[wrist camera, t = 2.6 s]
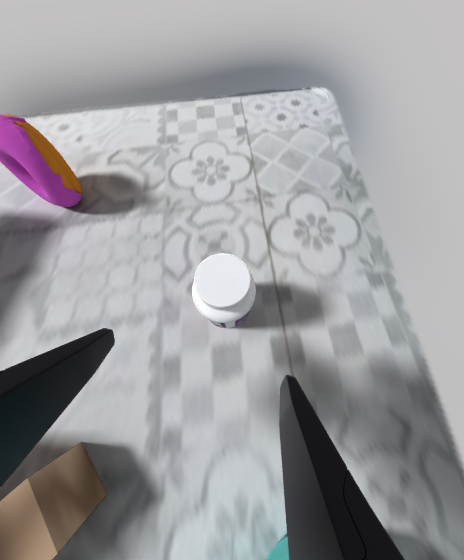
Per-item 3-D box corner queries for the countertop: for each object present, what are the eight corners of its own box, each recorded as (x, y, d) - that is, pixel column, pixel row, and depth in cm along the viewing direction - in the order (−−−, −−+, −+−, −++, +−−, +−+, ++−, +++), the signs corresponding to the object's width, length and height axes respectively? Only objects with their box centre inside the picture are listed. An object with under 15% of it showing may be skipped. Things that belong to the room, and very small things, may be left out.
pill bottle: (243, 279, 23) (250, 237, 14) (254, 322, 21) (271, 307, 12) (200, 288, 23) (178, 252, 13) (208, 333, 21) (189, 327, 12)
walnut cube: (107, 493, 17) (57, 553, 12) (54, 543, 16) (-24, 632, 11) (81, 441, 18) (27, 478, 13) (31, 485, 17) (-49, 542, 12)
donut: (43, 228, 25) (-70, 160, 16) (38, 180, 28) (-61, 98, 19) (101, 210, 26) (27, 136, 17) (90, 165, 29) (22, 79, 20)
